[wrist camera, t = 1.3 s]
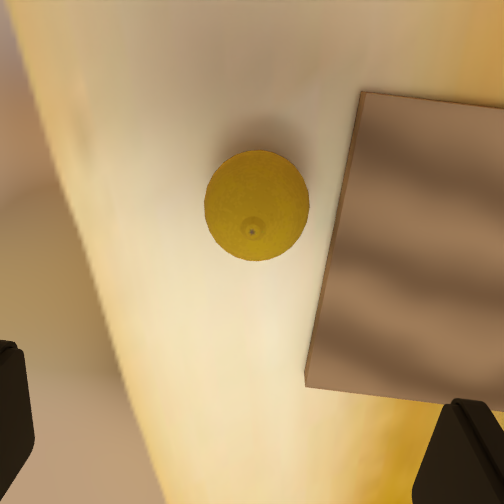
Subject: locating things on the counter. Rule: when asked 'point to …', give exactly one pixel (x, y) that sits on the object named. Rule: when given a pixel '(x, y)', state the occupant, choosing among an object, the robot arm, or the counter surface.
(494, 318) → the serving board
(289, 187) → the lemon
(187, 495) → the counter surface
